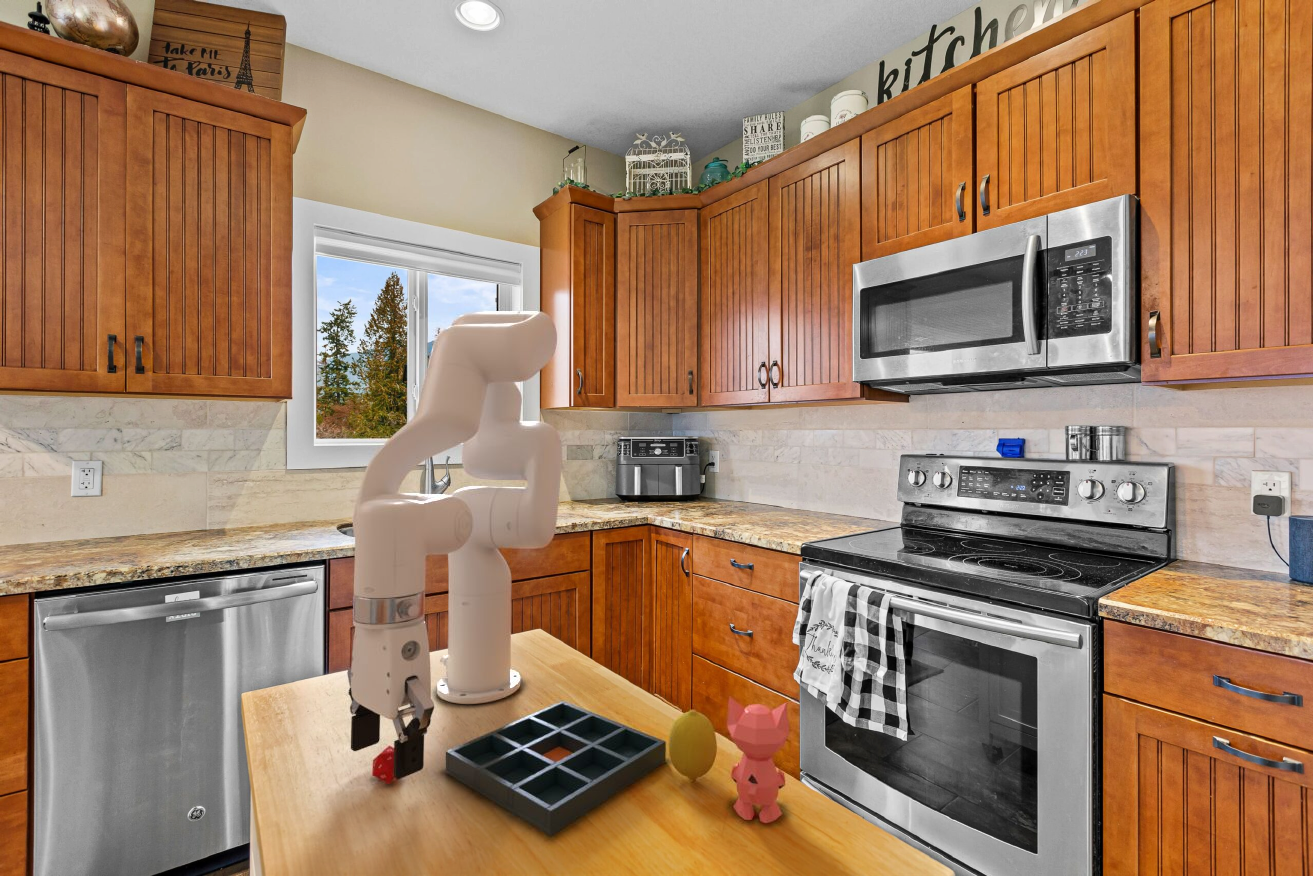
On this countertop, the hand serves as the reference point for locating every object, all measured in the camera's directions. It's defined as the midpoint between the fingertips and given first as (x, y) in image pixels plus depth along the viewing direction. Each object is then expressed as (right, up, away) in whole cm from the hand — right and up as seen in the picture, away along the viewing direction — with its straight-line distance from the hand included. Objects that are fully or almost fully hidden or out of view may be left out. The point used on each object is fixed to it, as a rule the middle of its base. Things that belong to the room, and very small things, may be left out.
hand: (386, 759), depth 70 cm
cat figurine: (+41, -3, -6) cm, 42 cm away
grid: (+19, -3, +3) cm, 19 cm away
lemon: (+35, -3, +1) cm, 35 cm away
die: (0, -3, +1) cm, 3 cm away
